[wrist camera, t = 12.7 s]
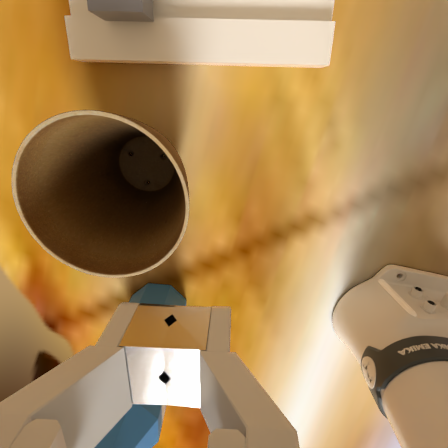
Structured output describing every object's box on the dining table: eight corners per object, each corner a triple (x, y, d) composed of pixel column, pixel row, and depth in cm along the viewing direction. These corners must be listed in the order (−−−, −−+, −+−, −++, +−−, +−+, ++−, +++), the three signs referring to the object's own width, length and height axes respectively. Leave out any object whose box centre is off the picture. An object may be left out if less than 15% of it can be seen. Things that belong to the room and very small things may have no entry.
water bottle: (122, 315, 50) (28, 501, 27) (143, 272, 47) (54, 443, 24) (174, 337, 52) (126, 530, 29) (197, 296, 48) (164, 479, 25)
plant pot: (93, 208, 43) (20, 266, 28) (93, 95, 37) (0, 94, 22) (197, 224, 43) (179, 290, 29) (213, 116, 38) (199, 128, 23)
